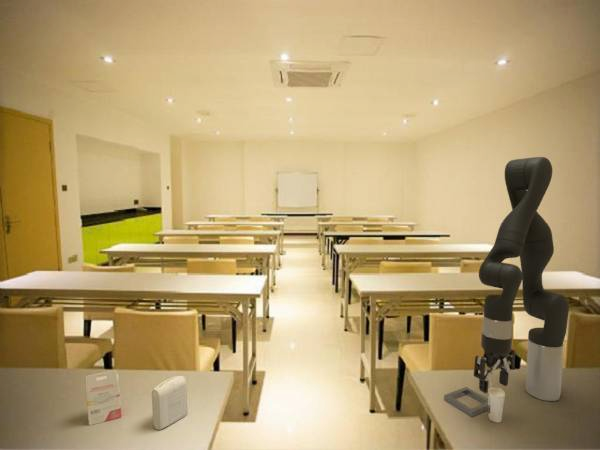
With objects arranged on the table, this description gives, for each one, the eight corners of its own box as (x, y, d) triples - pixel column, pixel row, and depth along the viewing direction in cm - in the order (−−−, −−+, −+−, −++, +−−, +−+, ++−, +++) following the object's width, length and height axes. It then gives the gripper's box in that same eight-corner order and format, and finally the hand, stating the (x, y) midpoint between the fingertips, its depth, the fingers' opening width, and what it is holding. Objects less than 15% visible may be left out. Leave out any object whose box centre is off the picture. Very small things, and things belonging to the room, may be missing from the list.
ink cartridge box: (121, 408, 115) (118, 363, 114) (121, 417, 111) (118, 370, 109) (89, 416, 112) (85, 369, 110) (88, 426, 107) (84, 376, 106)
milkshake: (496, 412, 110) (498, 380, 109) (507, 423, 105) (508, 389, 104) (481, 413, 110) (482, 380, 109) (491, 424, 105) (492, 390, 104)
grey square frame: (466, 391, 122) (466, 386, 122) (494, 407, 113) (494, 402, 113) (444, 399, 117) (444, 395, 117) (471, 416, 108) (471, 411, 108)
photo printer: (181, 409, 115) (179, 370, 113) (190, 413, 112) (188, 374, 111) (150, 427, 106) (148, 385, 105) (159, 432, 104) (157, 390, 103)
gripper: (500, 324, 112) (497, 376, 113) (467, 332, 105) (465, 387, 107) (525, 333, 105) (522, 388, 107) (492, 342, 99) (488, 401, 100)
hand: (493, 388), depth 107 cm, fingers open, 8 cm apart
